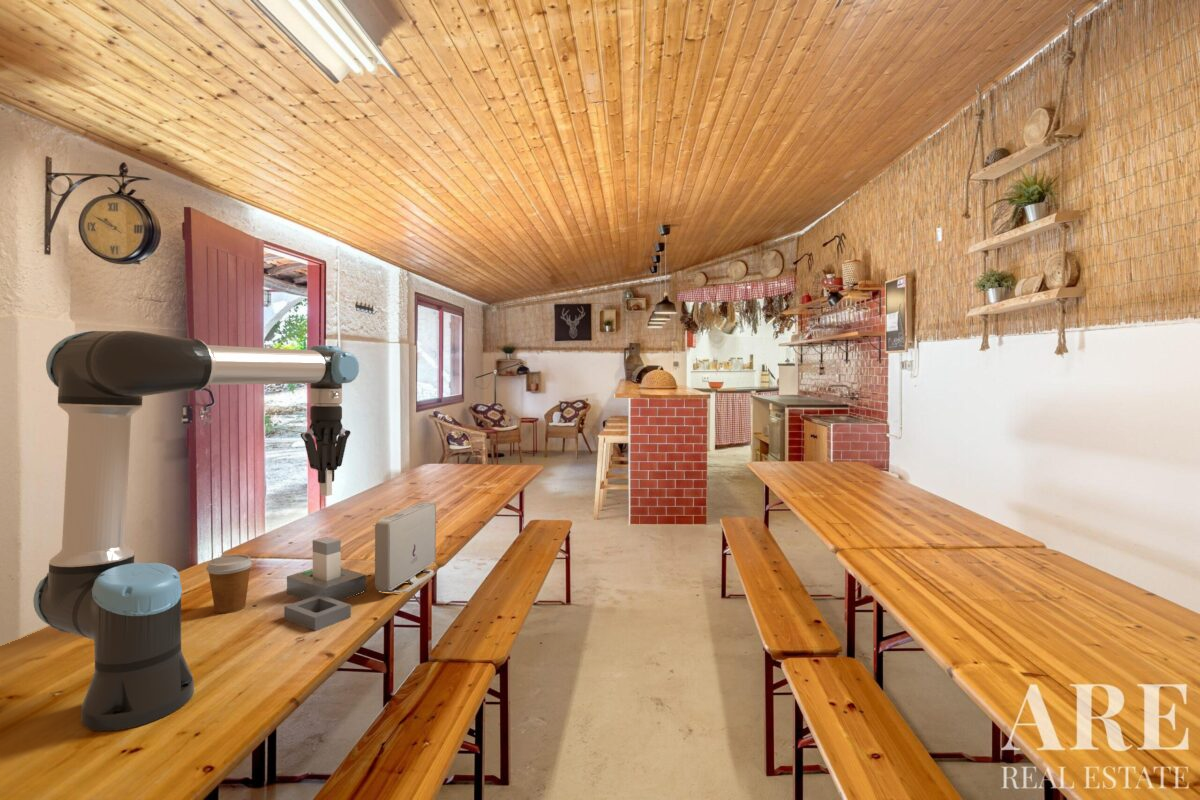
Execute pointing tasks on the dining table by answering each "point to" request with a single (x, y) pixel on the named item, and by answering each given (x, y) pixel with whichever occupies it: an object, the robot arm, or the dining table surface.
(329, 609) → the holder
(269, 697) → the dining table surface
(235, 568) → the disposable coffee cup
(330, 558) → the plug
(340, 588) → the port block
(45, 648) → the dining table surface
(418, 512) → the network device
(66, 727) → the dining table surface
